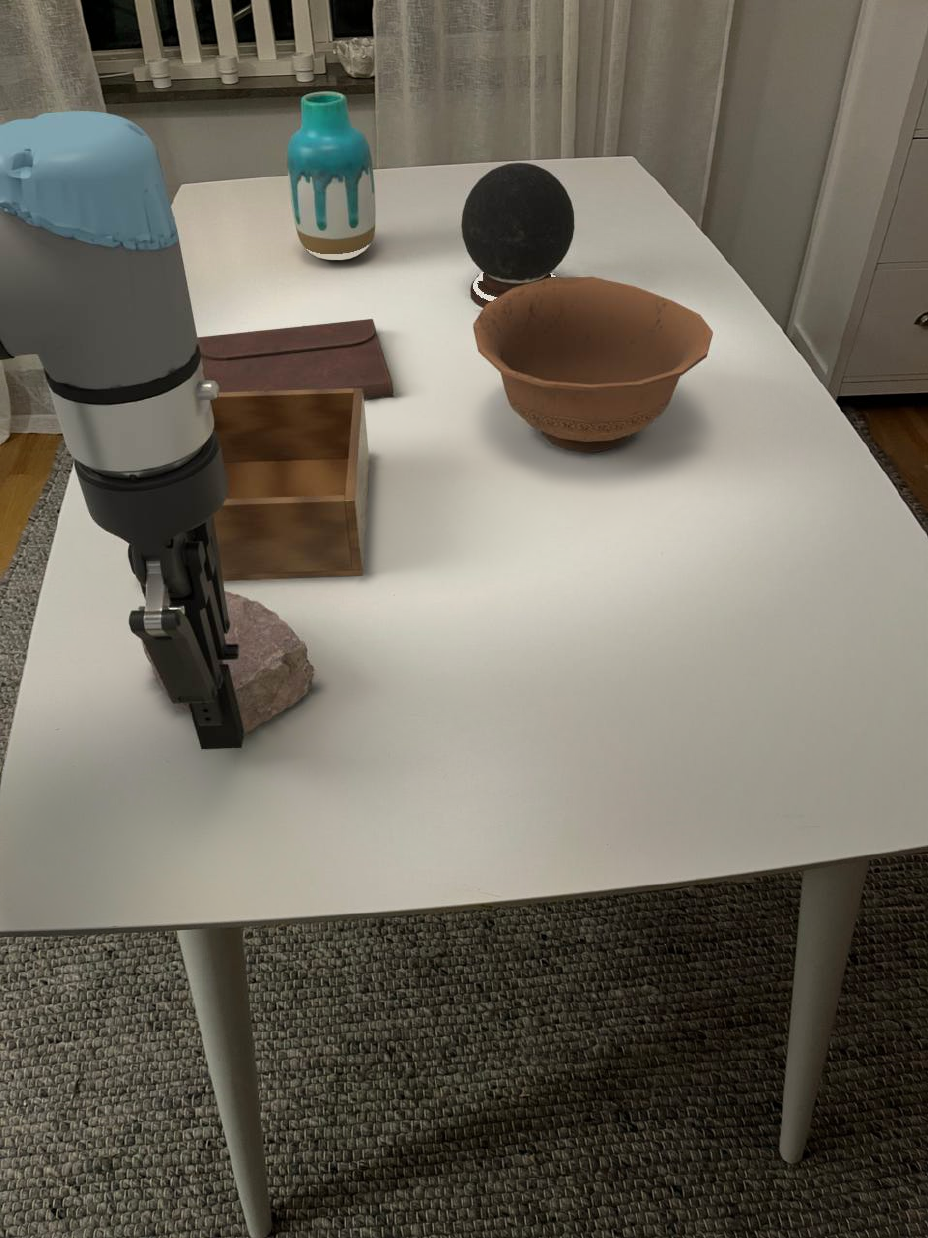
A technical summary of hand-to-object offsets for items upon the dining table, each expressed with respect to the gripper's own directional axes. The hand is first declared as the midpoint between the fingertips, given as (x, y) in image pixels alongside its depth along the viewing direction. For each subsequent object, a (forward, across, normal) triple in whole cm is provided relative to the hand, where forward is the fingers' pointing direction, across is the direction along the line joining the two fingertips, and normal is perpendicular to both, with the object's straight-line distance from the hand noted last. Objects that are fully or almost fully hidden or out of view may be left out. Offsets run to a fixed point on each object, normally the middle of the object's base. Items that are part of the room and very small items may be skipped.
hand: (223, 740), depth 69 cm
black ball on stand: (+2, +72, -25) cm, 76 cm away
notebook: (+2, +54, 0) cm, 54 cm away
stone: (+2, +7, +1) cm, 7 cm away
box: (+1, +28, 0) cm, 28 cm away
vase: (+1, +85, -3) cm, 85 cm away
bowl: (+2, +41, -30) cm, 51 cm away
